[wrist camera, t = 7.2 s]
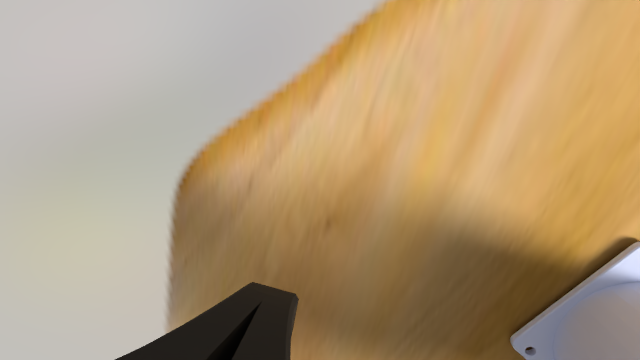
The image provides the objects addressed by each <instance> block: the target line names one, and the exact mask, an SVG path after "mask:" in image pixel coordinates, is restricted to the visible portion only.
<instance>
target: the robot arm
mask: <svg viewBox="0 0 640 360" xmlns="http://www.w3.org/2000/svg"><path fill="white" fill-rule="evenodd" d="M298 300H299V299H298V297H297V296H296V294H294V293H290V292H287V291H283V290H279V289H276V288H272V287H269V286H265V285H261V284H258V283H254V282H252V283H250V284H248V285H247V286H245V287H243V288H242V289H240V290H239V291H237V292H235V293H234V294H232V295H231V296H229V297H228V298H226V299H225V300H223V301H222V302H220V303H218V304H217V305H215V306H214V307H212V308H210V309H209V310H207V311H205V312H204V313H202V314H200V315H199V316H197V317H196V318H194V319H192V320H191V321H189V322H187V323H185V324H184V325H182V326H180V327H178V328H176V329H175V330H173V331H171V332H169V333H167V334H165V335H164V336H162V337H160V338H158V339H156V340H155V341H153V342H151V343H149V344H147V345H145V346H143V347H141V348H139V349H137V350H135V351H133V352H131V353H129V354H126V355H124V356H122V357H120V358H117V359H115V360H290V346H291V336H292V330H293V325H294V320H295V315H296V310H297V305H298ZM510 342H511V344H512V346H513V348H514V349H515V350H516V351H517V352H518V353H519V354H521V355H522V356H523V357H524V358H525V359H526V360H640V241H639V242H636V243H634V244H632V245H631V246H629V247H628V248H627V249H625V250H624V251H623V252H621V253H620V254H619V255H617V256H616V257H615V258H613V259H612V260H611V261H609V262H608V263H607V264H605V265H604V266H603V267H601V268H600V269H599V270H597V271H596V272H595V273H594V274H592V275H591V276H590V277H588V278H587V279H586V280H584V281H583V282H582V283H580V284H579V285H578V286H576V287H575V288H574V289H572V290H571V291H570V292H568V293H567V294H566V295H564V296H563V297H562V298H560V299H559V300H558V301H557V302H555V303H554V304H553V305H551V306H550V307H549V308H547V309H546V310H545V311H543V312H542V313H541V314H539V315H538V316H537V317H535V318H534V319H533V320H531V321H530V322H529V323H527V324H526V325H525V326H523V327H522V328H521V329H520V330H518V331H517V332H516V333H514V334H513V335H512V336H511V339H510ZM528 347H533V348H532V349H530V350H525V349H526V348H528Z"/></svg>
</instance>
